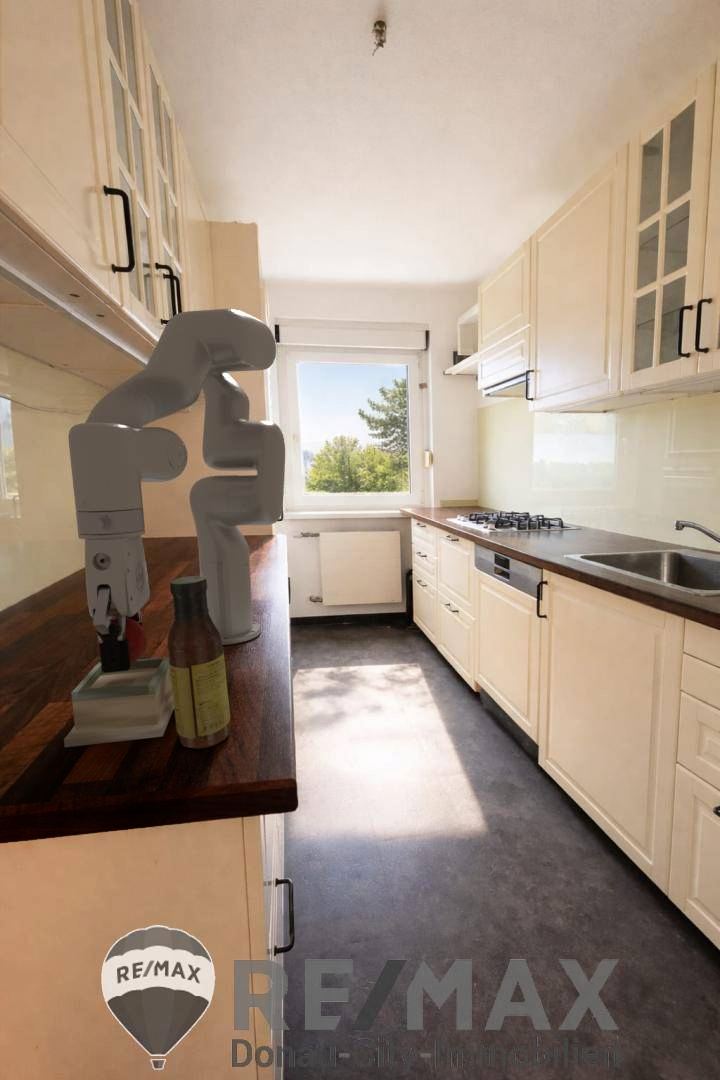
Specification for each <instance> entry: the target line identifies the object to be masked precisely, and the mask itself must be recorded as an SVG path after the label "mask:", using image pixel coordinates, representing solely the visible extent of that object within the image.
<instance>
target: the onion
mask: <svg viewBox="0 0 720 1080" xmlns="http://www.w3.org/2000/svg"><path fill="white" fill-rule="evenodd" d="M115 615H119V612H118V613H117V614H115ZM111 624H115V626H116V628H117V629H118V621H111ZM125 639H128V641H129V652H130V663H131V666H132V664H133V663H134V662H135V661H137V660H138V659H141V657H142V656H143V654H144V653H145V651H146V649H147V646H148V645H147V644H148V638H147V635H146V632H145V630H144V628H143V625H142V626H141V625H140V624H139V622H136V621H135V620H133V619H131V618H128V617H126V616H125ZM96 642H97V643H96V650H97V654H98V656H99V657H100V658H101V656H100V646H99V642H98V638H97V641H96Z"/></svg>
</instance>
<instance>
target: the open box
mask: <svg viewBox="0 0 720 1080" xmlns="http://www.w3.org/2000/svg"><path fill="white" fill-rule="evenodd" d="M169 660H170V659H169V656H164V657H163V656H160V657H150V658H139V659H138V660H137V661H135V662H134V663H133V664H132V666H131V667H130V669H129V670H128V671H120V672H108V673H104V672H103V671H102V666H101V661H99V662H98V663H96V664H95V666H93V668H92V669H91V670H90V671H89V672H88V674H86V675H85V677H84V678H83V679H82V680H81V681H80V682H79V683H78V685H76V687H75V688H74V689H73V690H72V691H70V693H71V702H72V703H71V704H72V712H73V723H74V725H73V727H72V729H71V730H70V731H69V732H68V733H67V735H66V736H65V737H64V739H63V744H64V748H70V747H80V746H88V745H89V746H91V745H98V744H106V743H113V742H114V743H117V742H125V741H135V740H143V739H150V738H151V739H152V738H160V737H164V734H165V731H166V729H167V726H168V724H169V722H170V720H171V718H172V717H171V716H172V715H173V711H175V710H174V701H173V692H172V683H171V675H170V667H169Z"/></svg>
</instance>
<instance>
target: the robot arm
mask: <svg viewBox="0 0 720 1080" xmlns="http://www.w3.org/2000/svg"><path fill="white" fill-rule="evenodd" d="M274 337H275V336H274V334H273V332H272V330H271V329H270V327H269V326H268V325H267V324H266V323H265V322H263V321H262V320H260V319H258V318H256V317H254V316H252V315H250V314H248V313H245V312H243V311H241V310H237V309H233V308H219V309H217V308H215V309H203V310H190V311H183V312H178V313H176V314H174V315H173V316H172V317H170V318H169V320H168V321H167V323H166V324H165V327H163V330H162V332H161V335H160V337H159V338H158V341H157V343H156V345H155V347H154V349H153V351H152V352H151V355H150V357H149V359H148V362H147V363H146V366H145V367H144V368H143V369H142V370H141V371H139V372H137V373H135V374H133V375H132V376H130V377H129V378H127V379H126V380H125V381H123V382H122V383H121V384H119V385H118V386H116V387H115V388H113V389H112V390H111V391H109V392H108V393H107V394H105V395H103V397H102V398H101V399H100V400H99V401H98V402H97V403H96V404H95V405H94V407H93V408H92V410H91V411H90V413H89V415H88V416H87V418H86V420H85V422H82V423H78V424H74V425H73V426H72V427H70V429H69V431H68V449H69V457H70V466H71V467H70V468H71V469H70V471H71V478H72V486H73V487H72V488H73V495H74V505H75V516H76V525H77V536H78V539H80V540H84V571H85V574H84V575H85V587H86V589H85V590H86V598H87V606H88V613H89V615H90V617H91V618H93V620H92V625H93V627H94V629H95V631H96V634H97V639H98V642H99V646H100V656H101V657H100V656H99V657H100V662H101V666H102V671H103V672H104V673H108V672H120V671H128V670H129V669H130V667H131V663H130V652H129V641H128V639H125V616H126V617H128V618H131V619H133V620H135V621H136V622H138V623H139V624H140V625H141V626H142V627H143V622H142V618H143V617H142V616H143V615H142V610H141V609H142V607H144V606H145V605H146V604H147V602H148V601H149V600H150V597H151V591H150V584H149V575H148V569H147V561H146V554H145V553H146V552H145V549H144V542H143V539H142V535H145V534H146V524H145V515H144V504H143V492H142V491H143V490H142V483H163V482H169V481H172V480H174V479H176V478H178V477H179V476H180V475H182V473H183V472H184V470H185V468H186V467H187V464H188V458H189V457H188V450H187V447H186V444H185V442H184V441H183V439H182V437H180V436H179V434H177V433H176V432H174V431H173V430H171V429H168V428H165V427H160V426H146V425H148V424H151V423H153V422H156V421H158V420H160V419H164V418H166V417H169V416H172V415H174V414H175V415H176V413H179V412H182V411H183V410H186V409H187V408H190V407H191V406H192V405H194V404H195V403H196V402H197V401H198V399H199V397H200V394H201V392H203V396H204V422H203V435H202V447H201V448H202V458H203V460H204V463H205V465H206V466H208V468H211V469H213V470H216V471H227V472H231V471H233V472H236V471H238V472H239V471H246V472H247V471H256V475H254V474H253V475H251V474H250V475H249V474H248V475H237V474H236V475H235V474H234V475H232V474H231V475H228V474H227V475H226V474H225V475H212V476H211V475H210V476H207V477H202V478H201V479H199V480H196V482H195V483H193V485H192V486H191V489H190V491H189V506H190V511H191V513H192V514H191V515H192V518H193V521H194V525H195V530H196V538H197V547H198V560H199V576H202V577H205V578H206V581H207V590H206V595H207V605H208V609H209V615H210V617H211V619H212V621H213V623H214V625H215V627H216V628H217V630H218V631H219V633H220V637H221V642H222V646H226V645H235V644H241V643H244V642H248V641H250V640H253V639H255V638H256V637H258V636H259V635H260V634H261V633H262V628H261V627H262V626H261V625H260V624H259V623H258V622H255V621H253V620H254V619H253V599H252V580H251V578H252V577H251V562H250V561H251V559H250V556H251V555H250V547H249V543H248V542H247V540H246V538H245V536H244V534H243V533H242V532H241V530H240V529H239V528H238V526H269V525H273V524H275V523H277V522H278V521H279V520H280V519H281V516H282V513H283V508H284V493H285V492H284V491H285V473H286V471H285V469H286V468H285V467H286V443H285V438H284V434H283V432H282V429H281V428H280V426H279V425H278V424H277V423H275V422H274V421H270V420H262V419H261V420H250V407H251V405H250V404H251V403H250V400H249V396H248V395H247V392H245V390H244V389H243V387H242V386H241V385H240V384H239V383H238V382H237V381H236V380H235V379H234V378H233V376H232V375H231V374H230V373H231V372H234V373H235V372H248V371H249V372H250V371H252V372H254V371H256V372H257V371H265V370H267V369H269V368H271V366H272V365H273V364H274V362H275V360H276V359H275V358H276V354H277V345H276V341H275V338H274ZM111 612H115V613H116V614H117V613H118V612H119V615H116V614H114V615H110V613H111ZM111 621H118V629H117V628H116V626H115V624H111Z"/></svg>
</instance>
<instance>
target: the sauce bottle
mask: <svg viewBox="0 0 720 1080" xmlns="http://www.w3.org/2000/svg"><path fill="white" fill-rule="evenodd" d="M169 589H170V593H171V595H172V599H173V607H174V610H173V611H174V613H173V616H174V621H173V624H172V626H171V628H170V630H169V632H168V634H167V635H168V636H167V646H166V647H167V648H168V649H167V650H168V657H169V659H170V660H169V667H170V675H171V683H172V692H173V701H174V710H173V711H174V718H175V726H176V728H175V729H176V732H177V734H178V738H179V741H180V743H181V746H183V747H184V748H188V749H189V748H190V749H197V750H199V749H200V750H202V749H207V748H211V747H213V746H216V745H219V744H220V743H221V742H223V741H226V738H228V737H229V734H230V732H231V722H230V721H231V712H230V702H229V694H228V693H229V692H228V684H227V683H228V682H227V674H226V664H225V663H226V662H225V661H226V660H225V653H224V647H223V646H224V645H222V642H221V637H220V633H219V631H218V630H217V628H216V627H215V625H214V623H213V621H212V619H211V617H210V615H209V609H208V605H207V595H206V590H207V581H206V578H205V577H202V576H200V575H192V576H191V575H189V576H188V575H187V576H182V577H177V578H175V579H172V580H171V581H170V582H169Z"/></svg>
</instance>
